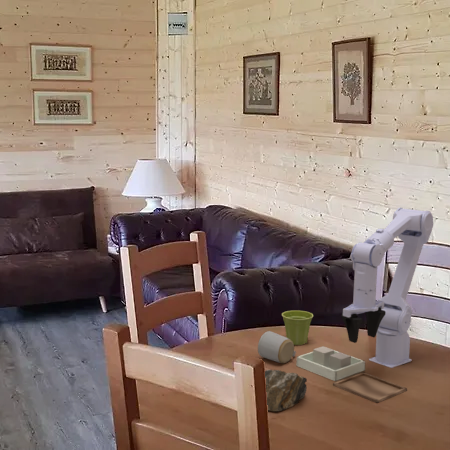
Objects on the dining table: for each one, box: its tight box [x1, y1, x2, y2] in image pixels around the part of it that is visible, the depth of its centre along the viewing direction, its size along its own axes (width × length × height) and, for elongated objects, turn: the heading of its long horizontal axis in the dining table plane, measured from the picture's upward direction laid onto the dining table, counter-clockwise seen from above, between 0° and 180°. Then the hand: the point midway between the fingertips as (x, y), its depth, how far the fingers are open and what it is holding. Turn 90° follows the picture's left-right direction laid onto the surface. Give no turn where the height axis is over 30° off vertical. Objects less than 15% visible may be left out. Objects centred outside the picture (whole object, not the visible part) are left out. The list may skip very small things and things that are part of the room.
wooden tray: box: [332, 371, 408, 404], centre depth 179 cm, size 12×14×1 cm
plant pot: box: [281, 310, 314, 346], centre depth 214 cm, size 9×9×9 cm
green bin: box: [295, 349, 366, 382], centre depth 192 cm, size 12×14×3 cm
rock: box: [264, 369, 308, 412], centre depth 172 cm, size 14×11×10 cm
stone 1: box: [312, 345, 335, 367], centre depth 194 cm, size 4×4×4 cm
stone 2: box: [329, 351, 351, 370], centre depth 189 cm, size 4×4×4 cm
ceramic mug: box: [257, 330, 297, 364], centre depth 200 cm, size 11×8×8 cm
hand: (362, 339), depth 186 cm, fingers open, 7 cm apart
